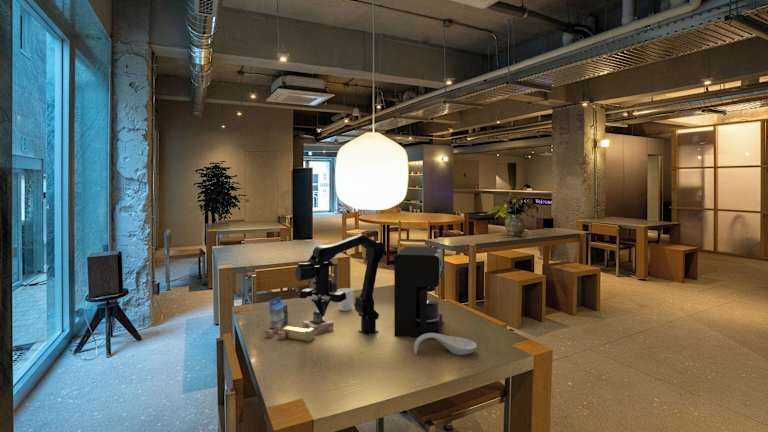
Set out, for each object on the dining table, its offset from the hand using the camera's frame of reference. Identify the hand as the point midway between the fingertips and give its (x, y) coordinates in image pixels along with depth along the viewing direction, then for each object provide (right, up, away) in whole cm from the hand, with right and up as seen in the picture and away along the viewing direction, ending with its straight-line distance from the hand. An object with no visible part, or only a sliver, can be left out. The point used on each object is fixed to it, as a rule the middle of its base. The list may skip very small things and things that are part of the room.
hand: (322, 316), depth 161 cm
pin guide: (-20, -10, +8) cm, 24 cm away
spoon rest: (+48, -12, -9) cm, 50 cm away
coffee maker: (+40, -10, +15) cm, 44 cm away
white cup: (+5, -8, +45) cm, 46 cm away
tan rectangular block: (-11, -10, +5) cm, 16 cm away
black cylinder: (-4, -10, +15) cm, 18 cm away
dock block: (-5, -10, +15) cm, 18 cm away
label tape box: (-23, -10, +21) cm, 33 cm away
